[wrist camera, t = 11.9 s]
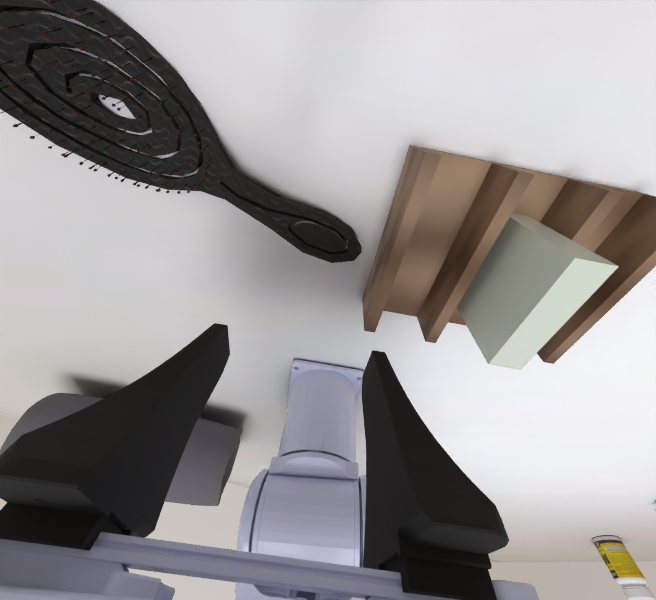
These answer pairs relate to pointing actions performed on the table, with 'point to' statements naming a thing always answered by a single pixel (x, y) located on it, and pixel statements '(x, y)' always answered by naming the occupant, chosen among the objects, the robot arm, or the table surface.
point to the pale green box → (528, 290)
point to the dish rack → (484, 228)
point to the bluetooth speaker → (195, 464)
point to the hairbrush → (80, 100)
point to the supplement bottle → (623, 568)
